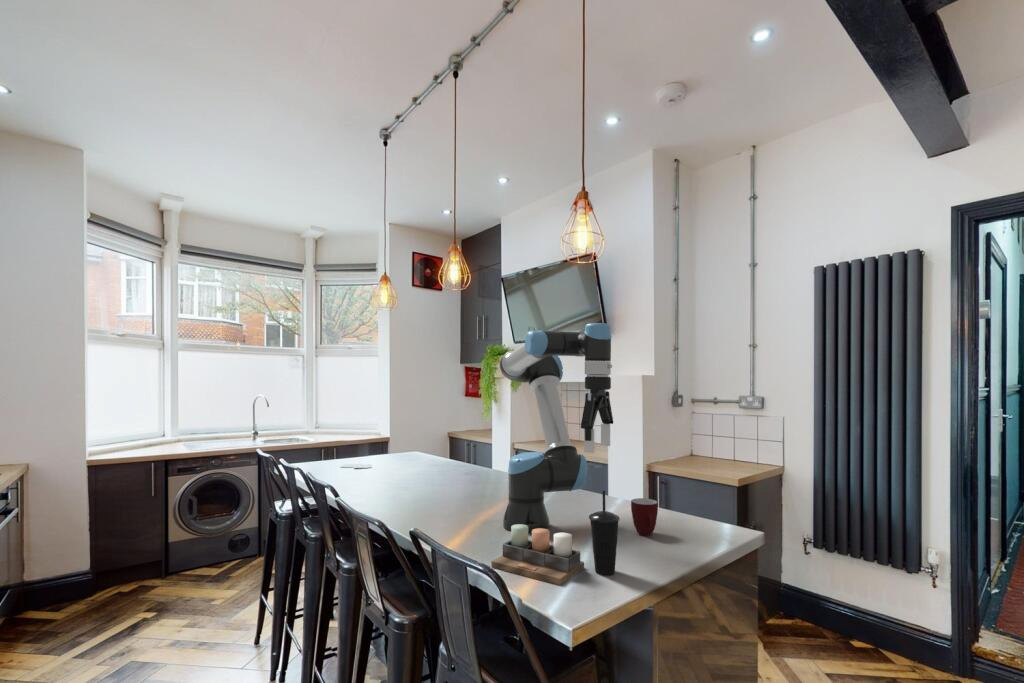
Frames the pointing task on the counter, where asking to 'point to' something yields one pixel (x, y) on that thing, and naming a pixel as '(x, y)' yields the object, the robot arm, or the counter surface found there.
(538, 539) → the button terracotta
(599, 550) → the drinking cup
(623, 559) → the counter surface
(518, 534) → the pale green rounded cylinder
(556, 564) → the wooden compartment tray
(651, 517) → the mug
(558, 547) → the button ivory
